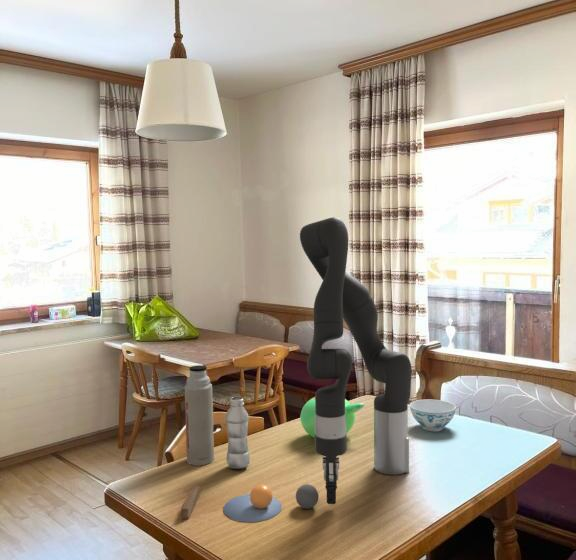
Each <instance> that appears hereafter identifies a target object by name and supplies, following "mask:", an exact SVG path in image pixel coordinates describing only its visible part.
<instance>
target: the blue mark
mask: <svg viewBox="0 0 576 560" xmlns="http://www.w3.org/2000/svg"><path fill="white" fill-rule="evenodd" d="M281 511H282V503H281V501H280V500H279V499H277V497H274V496H273V498H272V502H271V503H270V505H269V506H268V507H266V508H264V509H259V508H256V507H254V506H253V505H252V503H251V501H250V493H249V494H242V495H239V496H236V497H233V498H232V499H229V500H228V501H227V502H225V504H224V506H223V513H224V515H225V516H226V517H227V518H229V519H232V520H233V521H237V522H242V523H257V522H263V521H267V520H270V519H272V518H274V517H276V516H277V515H279V514H280V512H281Z"/></svg>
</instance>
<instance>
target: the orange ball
mask: <svg viewBox="0 0 576 560" xmlns="http://www.w3.org/2000/svg"><path fill="white" fill-rule="evenodd" d="M249 494H250V501H251V503H252V505H253V506H254V507H256V508H259V509H264V508H266V507H268V506H269V505H270V503H271V502H272V498H273V497H274V496H273V491H272V489H271V488H270V486H268V485H266V484H261V483H260V484H257V485H255V486H254V487H253V488H252V489H251V490H250V493H249Z"/></svg>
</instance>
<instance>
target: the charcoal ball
mask: <svg viewBox="0 0 576 560" xmlns="http://www.w3.org/2000/svg"><path fill="white" fill-rule="evenodd" d="M295 499H296V500H295V501H296V503H297V504H298V506H299V507H301V508H303V509H306V510H307V509H312V508H314V507H315V506H317V504H318V502H319V491H318V489H317V488H316V487H315V486H314V485H312V484H309V483H306V484H305V483H304V484H303V485H300V486H299V487H298V488H297V490H296V493H295Z"/></svg>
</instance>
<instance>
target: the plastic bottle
mask: <svg viewBox="0 0 576 560" xmlns="http://www.w3.org/2000/svg"><path fill="white" fill-rule="evenodd" d="M229 402H230V403H229V406H230V407H229V409H228V410H227V412H226V413H225V423H226V424H225V425H226V429H227V430H226V431H227V440H228V441H227V453H226V464H227V466H228V467H229V468H230V469H234V470H242V469H246V468H247V467H248V466H249V464H250V461H251V454H250V450H249V444H248V428H249V427H248V426H249V414H248V411H247V410H246V409H245V407H244V405H245V403H244V398H243V397H242V396H233V397H230V399H229Z"/></svg>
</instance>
